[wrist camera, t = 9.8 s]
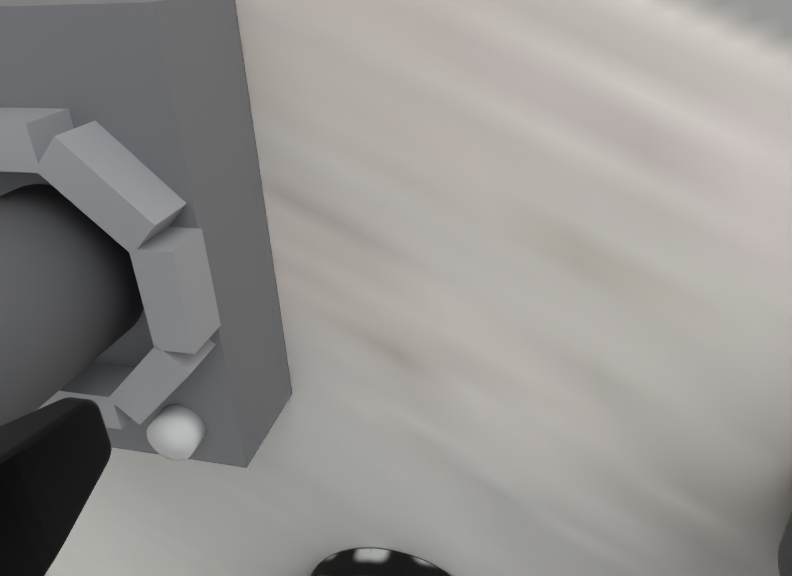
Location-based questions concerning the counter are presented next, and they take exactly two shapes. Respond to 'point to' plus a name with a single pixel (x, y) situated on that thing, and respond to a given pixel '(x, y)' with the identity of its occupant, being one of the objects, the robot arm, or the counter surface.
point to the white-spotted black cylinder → (375, 564)
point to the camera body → (156, 209)
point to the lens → (56, 295)
